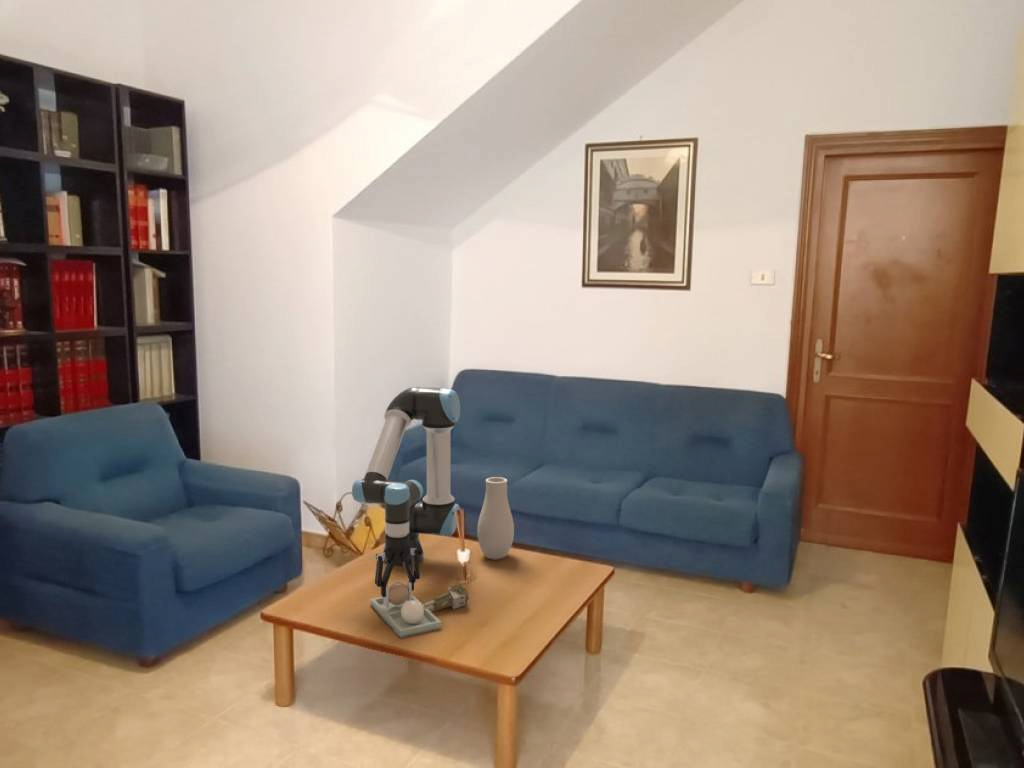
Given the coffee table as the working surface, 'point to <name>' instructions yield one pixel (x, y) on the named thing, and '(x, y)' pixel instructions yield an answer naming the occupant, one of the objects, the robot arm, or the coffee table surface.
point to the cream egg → (412, 611)
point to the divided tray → (398, 624)
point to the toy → (450, 598)
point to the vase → (495, 520)
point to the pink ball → (398, 593)
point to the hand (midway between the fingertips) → (397, 603)
